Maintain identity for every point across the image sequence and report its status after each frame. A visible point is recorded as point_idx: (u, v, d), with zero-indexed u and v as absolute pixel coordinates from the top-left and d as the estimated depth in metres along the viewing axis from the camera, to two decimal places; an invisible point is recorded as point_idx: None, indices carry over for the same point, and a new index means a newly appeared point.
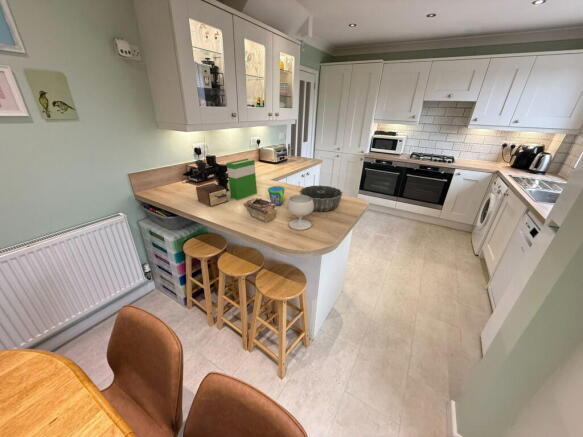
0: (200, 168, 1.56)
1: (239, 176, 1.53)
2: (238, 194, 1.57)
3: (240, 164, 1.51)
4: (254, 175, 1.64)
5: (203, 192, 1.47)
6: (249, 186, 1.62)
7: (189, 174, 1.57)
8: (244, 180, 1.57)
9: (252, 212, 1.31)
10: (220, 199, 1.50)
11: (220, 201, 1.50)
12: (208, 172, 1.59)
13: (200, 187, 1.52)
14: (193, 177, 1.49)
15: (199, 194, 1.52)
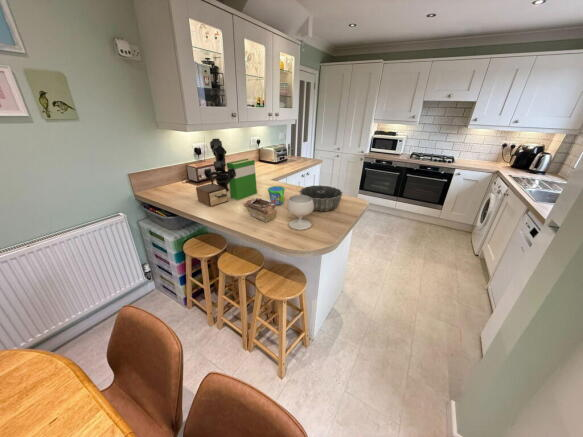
0: (220, 168, 1.45)
1: (239, 176, 1.53)
2: (238, 194, 1.57)
3: (240, 164, 1.51)
4: (254, 175, 1.64)
5: (203, 192, 1.47)
6: (249, 186, 1.62)
7: (212, 179, 1.46)
8: (244, 180, 1.57)
9: (252, 212, 1.31)
10: (220, 199, 1.50)
11: (220, 201, 1.50)
12: (225, 165, 1.50)
13: (200, 187, 1.52)
14: (228, 181, 1.46)
15: (199, 194, 1.52)
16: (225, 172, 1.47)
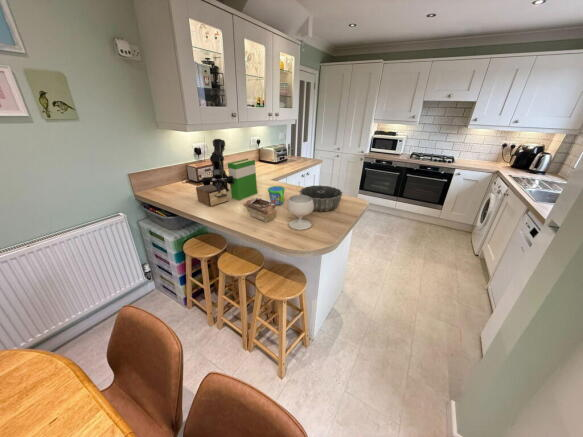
0: (218, 175, 1.46)
1: (241, 176, 1.53)
2: (239, 195, 1.56)
3: (241, 164, 1.51)
4: (255, 175, 1.64)
5: (203, 192, 1.47)
6: (250, 186, 1.62)
7: None
8: (245, 180, 1.57)
9: (252, 212, 1.31)
10: (220, 199, 1.50)
11: (220, 201, 1.50)
12: None
13: (200, 187, 1.52)
14: (220, 189, 1.47)
15: (199, 194, 1.52)
16: None
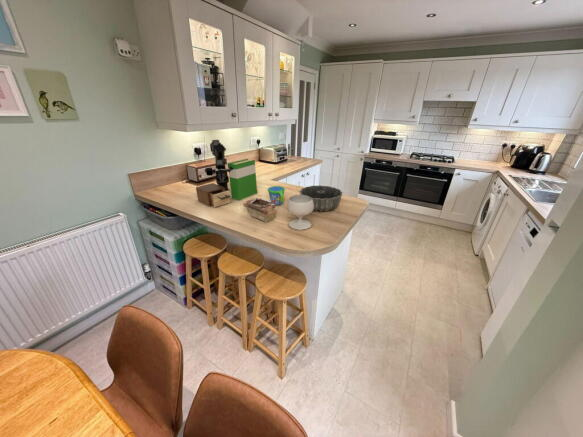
0: (221, 166, 1.48)
1: (241, 176, 1.53)
2: (240, 195, 1.56)
3: (241, 164, 1.51)
4: (255, 175, 1.64)
5: (203, 192, 1.47)
6: (250, 186, 1.62)
7: (221, 177, 1.50)
8: (245, 180, 1.57)
9: (252, 212, 1.31)
10: (223, 200, 1.47)
11: (223, 202, 1.48)
12: None
13: (200, 187, 1.52)
14: (223, 180, 1.49)
15: (199, 194, 1.52)
16: None
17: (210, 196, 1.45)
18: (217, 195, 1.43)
